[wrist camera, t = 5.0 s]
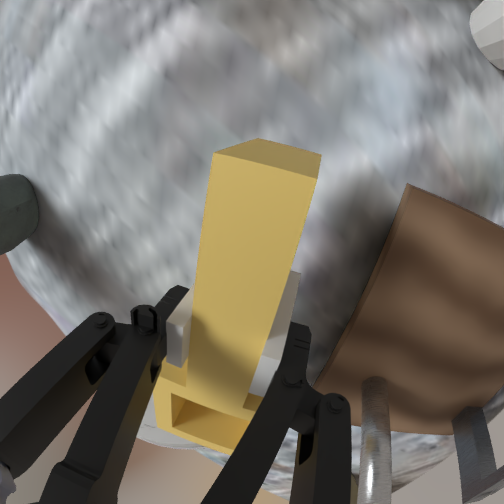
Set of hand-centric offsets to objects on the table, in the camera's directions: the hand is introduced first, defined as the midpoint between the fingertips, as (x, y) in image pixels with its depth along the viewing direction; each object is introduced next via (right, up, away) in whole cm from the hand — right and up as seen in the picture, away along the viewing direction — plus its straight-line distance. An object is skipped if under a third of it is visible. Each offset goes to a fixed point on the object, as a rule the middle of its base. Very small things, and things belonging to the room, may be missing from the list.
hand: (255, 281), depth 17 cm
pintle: (+12, -10, +8) cm, 17 cm away
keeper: (+26, -13, +6) cm, 30 cm away
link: (0, -2, +1) cm, 2 cm away
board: (+18, -8, +5) cm, 20 cm away
